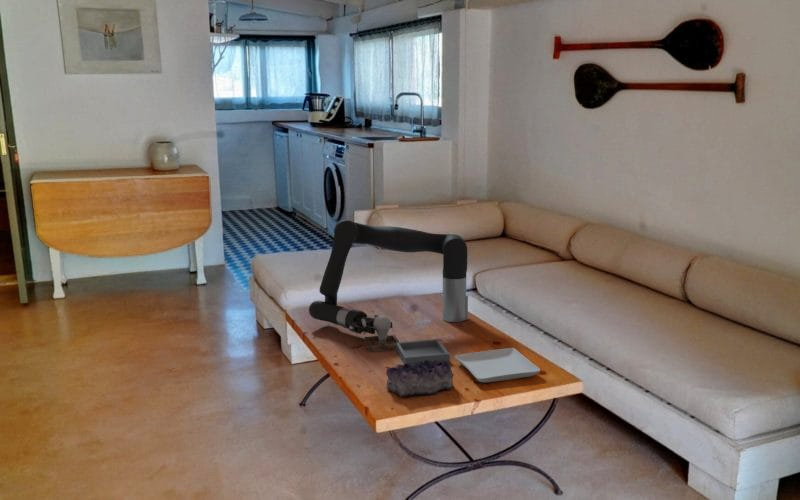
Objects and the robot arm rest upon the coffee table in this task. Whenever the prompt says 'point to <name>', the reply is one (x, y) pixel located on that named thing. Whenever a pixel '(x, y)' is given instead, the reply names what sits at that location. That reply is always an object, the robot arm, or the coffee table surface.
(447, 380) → the geode
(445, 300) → the robot arm
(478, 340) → the coffee table surface
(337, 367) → the coffee table surface
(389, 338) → the square wooden frame
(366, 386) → the coffee table surface
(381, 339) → the lightbulb
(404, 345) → the tray
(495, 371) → the salad plate
